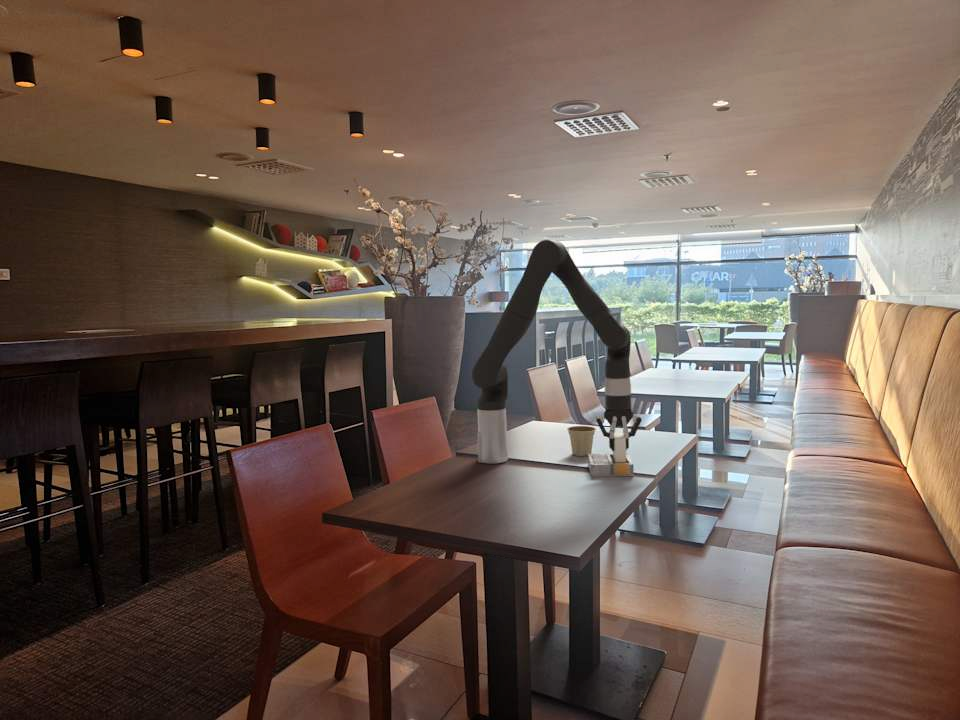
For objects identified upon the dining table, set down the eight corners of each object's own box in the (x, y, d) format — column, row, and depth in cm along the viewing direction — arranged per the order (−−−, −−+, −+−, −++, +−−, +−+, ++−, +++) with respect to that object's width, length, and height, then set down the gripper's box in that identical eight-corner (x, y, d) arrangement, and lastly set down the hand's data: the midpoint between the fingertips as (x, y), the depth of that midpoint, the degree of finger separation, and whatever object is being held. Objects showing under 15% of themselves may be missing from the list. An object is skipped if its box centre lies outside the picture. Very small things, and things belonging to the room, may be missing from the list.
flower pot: (595, 450, 212) (594, 425, 211) (597, 457, 202) (597, 431, 202) (567, 451, 213) (566, 426, 212) (568, 457, 203) (567, 431, 203)
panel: (615, 462, 182) (615, 438, 181) (612, 455, 190) (612, 432, 189) (626, 462, 182) (625, 438, 181) (622, 455, 190) (622, 432, 189)
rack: (591, 477, 180) (591, 464, 180) (588, 465, 194) (587, 453, 193) (633, 476, 179) (633, 463, 179) (627, 464, 192) (627, 452, 192)
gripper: (594, 395, 181) (596, 453, 183) (644, 394, 180) (645, 453, 181) (592, 391, 188) (594, 447, 190) (640, 390, 187) (641, 447, 189)
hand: (619, 450), depth 186 cm, fingers closed on panel, 3 cm apart
